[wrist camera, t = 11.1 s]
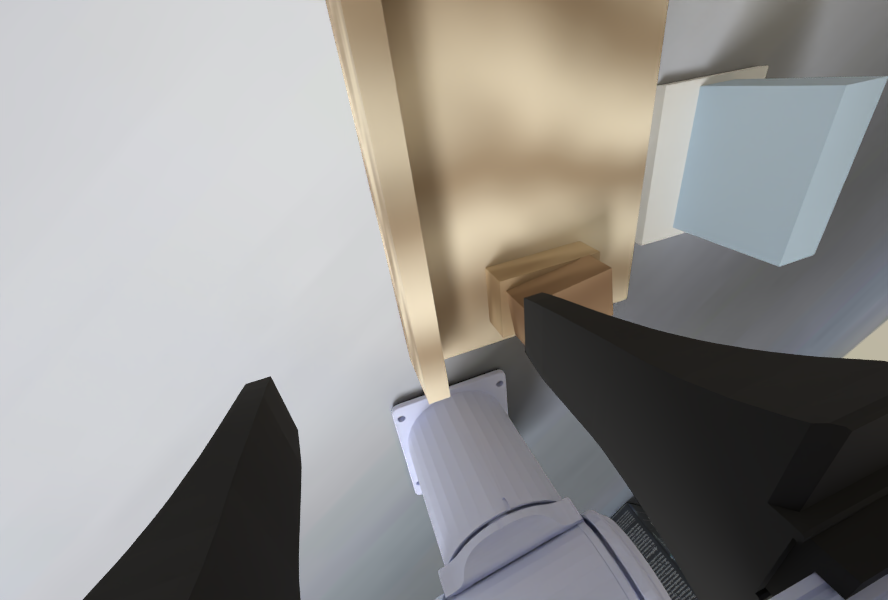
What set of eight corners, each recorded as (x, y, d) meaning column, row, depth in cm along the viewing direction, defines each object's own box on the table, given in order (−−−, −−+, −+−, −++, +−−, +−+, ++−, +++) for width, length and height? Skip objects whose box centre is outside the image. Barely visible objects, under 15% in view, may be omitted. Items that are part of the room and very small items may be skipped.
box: (660, 506, 47) (744, 603, 38) (630, 536, 48) (704, 636, 39) (626, 500, 43) (711, 606, 34) (594, 533, 44) (668, 643, 35)
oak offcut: (576, 293, 24) (595, 307, 22) (489, 321, 23) (503, 337, 21) (579, 240, 22) (600, 251, 20) (485, 267, 21) (499, 281, 19)
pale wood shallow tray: (616, 292, 26) (675, 330, 22) (410, 359, 23) (434, 418, 19) (662, -82, 16) (785, -139, 12) (313, -53, 13) (320, -117, 9)
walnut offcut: (591, 299, 22) (613, 314, 20) (515, 334, 21) (531, 352, 20) (588, 254, 20) (611, 268, 19) (506, 291, 20) (523, 307, 18)
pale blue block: (702, 218, 25) (814, 254, 19) (672, 227, 24) (779, 266, 19) (735, 79, 21) (888, 76, 15) (700, 86, 20) (846, 85, 15)
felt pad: (718, 217, 26) (727, 220, 26) (634, 242, 25) (641, 245, 24) (757, 66, 21) (768, 65, 21) (656, 85, 20) (666, 85, 20)
